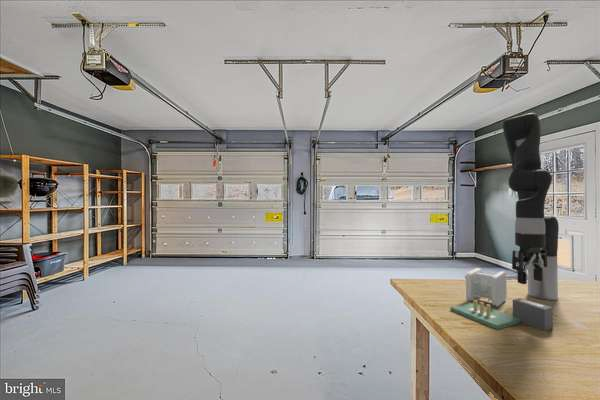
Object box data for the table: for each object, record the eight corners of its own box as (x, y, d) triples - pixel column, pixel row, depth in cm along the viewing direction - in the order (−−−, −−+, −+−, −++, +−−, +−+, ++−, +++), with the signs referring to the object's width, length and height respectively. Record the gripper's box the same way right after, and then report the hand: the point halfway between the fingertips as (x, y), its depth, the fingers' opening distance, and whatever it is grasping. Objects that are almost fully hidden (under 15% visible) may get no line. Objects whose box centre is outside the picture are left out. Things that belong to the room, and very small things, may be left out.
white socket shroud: (496, 310, 98) (496, 278, 98) (464, 302, 106) (464, 272, 106) (507, 300, 108) (507, 270, 108) (477, 293, 116) (476, 266, 116)
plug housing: (520, 317, 92) (520, 297, 92) (552, 328, 84) (552, 307, 84) (512, 319, 90) (512, 299, 90) (544, 331, 82) (544, 309, 82)
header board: (473, 305, 103) (472, 292, 103) (520, 322, 88) (520, 307, 88) (450, 310, 98) (450, 297, 98) (497, 329, 84) (497, 314, 84)
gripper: (529, 229, 94) (530, 276, 93) (503, 231, 88) (503, 281, 88) (556, 232, 87) (557, 282, 86) (529, 233, 81) (530, 288, 81)
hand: (530, 282), depth 87 cm, fingers open, 8 cm apart
